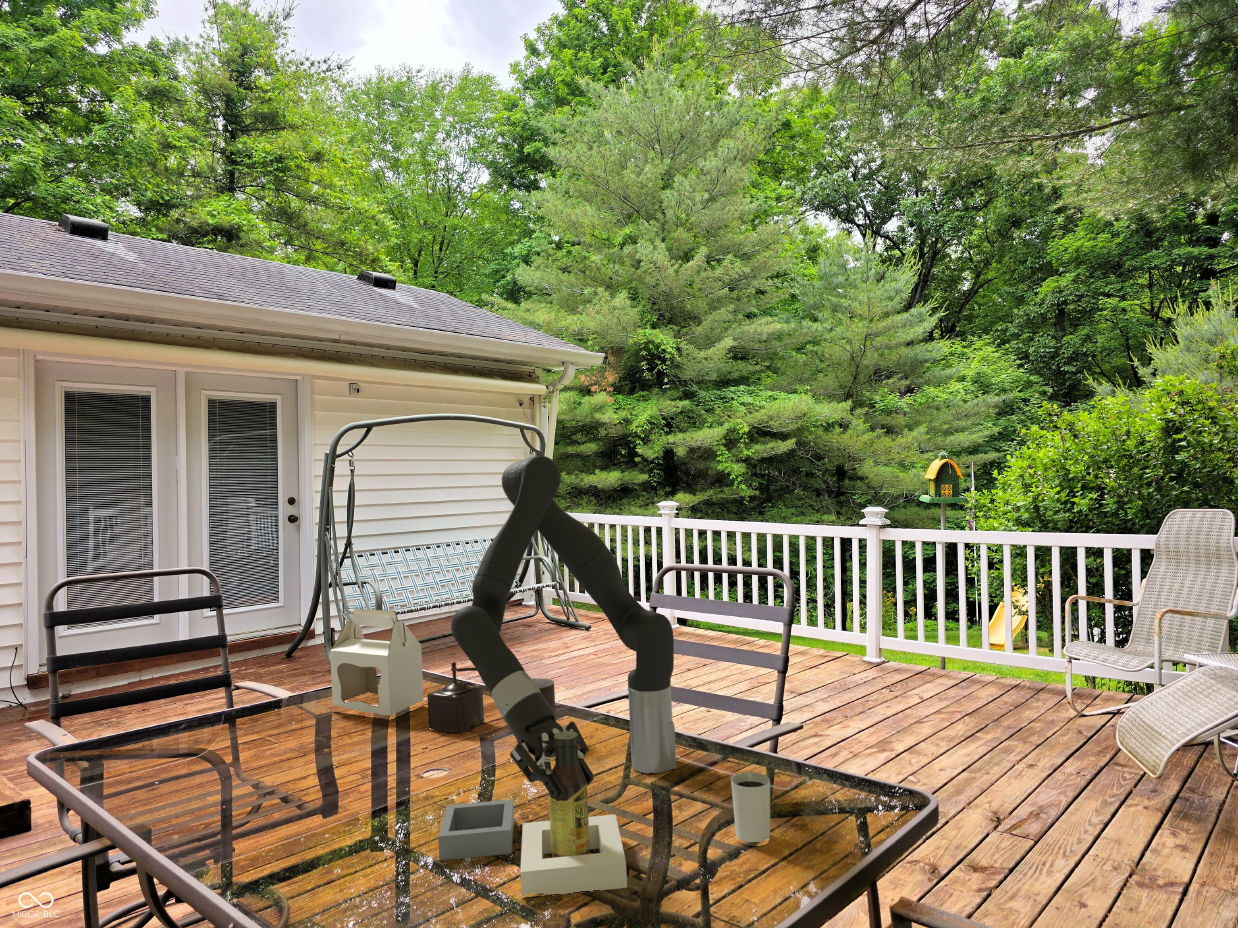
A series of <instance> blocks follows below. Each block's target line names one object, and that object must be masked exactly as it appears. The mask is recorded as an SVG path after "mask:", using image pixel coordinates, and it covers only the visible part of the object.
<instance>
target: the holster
mask: <svg viewBox="0 0 1238 928" xmlns="http://www.w3.org/2000/svg"><path fill="white" fill-rule="evenodd" d="M514 810H515V807H514V799H503V800H492V801H491V800H490V801H480V802H467V803H460V804H459V803H458V804H447V805H446V808H445V812H444V815H443V819H442V822H441V825H440V829H439V833H438V837H437V838H438V859H439V861H441V862H442V861H449V860H459V859H470V858H471V859H472V858H479V857H480V858H481V857H490V856H501V855H510V854H513V840H514V827H515V812H514Z"/></svg>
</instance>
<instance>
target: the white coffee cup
mask: <svg viewBox="0 0 1238 928" xmlns="http://www.w3.org/2000/svg"><path fill="white" fill-rule="evenodd" d="M730 783H731V784H730V785H731V793H732V795H731V796H732V805H733V808H732V809H733V815H734V816H733V817H734V827H735V830H734V831H735V837H736V836H737V838H738V839H740V840H743V841H746V842H760V841H763V840H766V839H768V838H769V836H770V837H771V780H770V777H769V776H767V775H766V774H763V773H762V772H761V773H760V772H757V771H756V772H755V771H754V772H753V771H744V772H738V773H736V774H734V775H732V776H731V777H730Z"/></svg>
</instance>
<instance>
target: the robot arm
mask: <svg viewBox="0 0 1238 928" xmlns="http://www.w3.org/2000/svg"><path fill="white" fill-rule="evenodd" d="M561 478H562V477H561V472H560V469H559V467H558V464H557V463H556V461H554V460H553V459H552V458H550V457H548V456H545V455H534V456H532V457H531V456H530V457H527V458H525V459H523V460H520V461H516V462H514V463H512V464H510V465H508V466H507V467H506V468H505V469H504V470H503V472H502V476H501V486H502V489H503V493H504V494H505V496H506V498H507V499H508V500H509V502H510V503H511V504H512V506H514V507H513V509H512V511H511V513H510V515H508V517H507V520H506V521H505V522H504V524H503V525H502V527H501V528H500V530H499V531H498V533H497V534H496V536H495V537H494V538H493V539H492V541H491V542H490V543H489V545H488V547H487V549H486V550H485V552H484V555H483V557H482V560H481V561H480V564H479V567H478V569H477V572H476V574H475V577H474V578H473V582H472V586H471V591H472V596H473V598H472V603H471V605H466V606H462V607H461V608H459V609H458V610H457V611H456V612H455V613H454V615H453V616H452V620H451V622H450V623H451V624H450V625H451V633H452V635H453V638H454V640H455V642H456V643H457V645H458V646H459V647H460V649H461V650H462V651H463V653H464V654H465V655H466V657H467V658H468V659H469V661H470V662H471V663H472V665H473V667H474V668H476V669H477V673H478V675H479V677H480V679H481V680H482V683H483V684H484V686H485V687H486V689H487V691H488V693H489V694H490V696H491V697H492V699H493V702H494V704H495V707H496V709H497V710H498V711H499V714H500V715H501V716H502V718H503V719H504V721H505V723H506V724H507V726H508V728H509V729H510V731H511V733H512V734H513V736H514V738H515V739H517V740H519V741H521V744H520V743H518V742H517V744H516V745H515V747H514V748H513V749H512V750H511V751H510V753H509V756H510V758H511V759H512V760H513V762H514V763H515V765H516V766H517V768H519V770H520V771H521V772H522V774H523V775H524V776H525V778H526V779H527V781H528V782H529V783H531V784H533V783H535V782H540V783H542V784H543V785H544V786H545V787H544V788H545V789H546V790H547V791H548V794H549V793H550V795H551V797H552V798H554V799H555V800H556V801H559V800H561V799H562V798H563V797H564V796H565V795H566V791H565V790H564V788H563V786H562V785H561V783H560V782H559V780H558V778H557V777H556V775H555V774H554V773H553V774H551V773H552V769H553V768H552V765H551V760H552V758H555V745H554V738H553V737H554V735H555V734H556V733H559V732H563V731H573V732H576V733H577V734H578V741H579V742H578V757H579V763H580V766H581V768H582V771H583V773H584V776H585V778H586V781H587V787H588V786H589V785H591V784H592V782H593V781H594V778H595V777H594V773H593V771H592V770H591V769H590V767H589V765H588V764H587V762H586V760H585V759H584V758H585V756H586V754H587V753H588V752H589V750H590V749H589V747H588V745H587V743H586V741H585V740H584V738H583V735H582V734H581V732H580V730H579V728H578V726H577V724H576V723H575V721H573V720H571V721H569V723H568V724H566V725H561V724H559V723H558V722H557V720H556V721H555V718H554V711H553V710H552V708H551V707H550V705H549V704H548V702H547V701H546V699H545V698H544V696H543V695H542V693H541V692H540V690H539V689H538V687H537V685H536V684H535V682H534V681H533V680H532V679H533V677H531V676H530V675H529V674H528V673H527V671H526V670H525V668H524V667H523V665H522V663H521V662H520V660H519V659H518V658H517V656H516V654H514V652H513V651H512V650H511V649H510V648H509V647H508V646H507V644H506V643H505V641H504V640H503V638H502V636H501V635H500V632H501V630H502V625H503V621H504V617H505V611H506V606H507V605H506V604H507V600H508V597H509V594H510V593H511V590H512V587H513V584H514V582H515V579H516V576H517V573H518V572H519V568H520V566H521V563H522V561H523V559H524V556H525V553H526V551H527V549H528V547H529V545H530V544H531V541H532V539H533V537H534V535H535V533H536V532H537V531H538V532H539V534H540V535H541V536H542V537H543V539H544V540H545V541H546V542H547V544H548V545H549V546H550V548H551V549H552V550H553V551H554V553H556V555H557V556H558V558H559V559H560V560H561V561H562V563H563V564H564V566H565V567H566V569H567V570H568V571H569V572H570V573H571V575H572V576H573V577H574V579H575V580H576V581H577V582H578V584H579V585H581V587H582V588H583V589H584V591H585V592H586V593H587V594H588V595H589V597H590V598H591V599H592V600H593V601H594V602H595V603H596V605H598V607H599V608H600V609H601V611H602V612H603V614H604V615H605V616H606V618H607V619H608V620H607V621H609V622H610V624H611V625H612V629H614V631H615V633H616V634H617V636H618V638H619V640H620V641H621V642H622V644H623V645H624V646H625V647H626V648H628V649H629V650H631V651H633V652H635V656H636V658H635V669H632V670H630V672H628V674H627V692H628V693H627V694H628V711H629V712H628V714H629V716H628V717H629V734H630V739H629V740H630V759H631V768H632V769H633V770H634V769H635V770H634V771H635V772H638V771H639V772H638V773H641V772H643V774H649V773H655V774H661V773H666V772H668V771H670V770H677V754H676V753H677V751H676V749H677V748H676V747H677V746H676V731H675V729H676V727H675V723H674V720H673V704H672V703H673V702H672V701H673V700H672V684H671V683H672V682H671V681H672V680H671V679H672V675H673V672H674V667H675V665H674V663H675V661H674V660H675V655H674V654H675V652H674V651H675V649H674V647H675V646H674V645H675V640H674V639H675V638H674V629H673V626H672V623H671V621H670V620H669V618H668V617H667V616H665V615H663V614H661V613H659V612H655V611H652V610H649V609H646V608H645V607H644V606H643V605H641V604H640V603H639V602H638V600H636V598H635V597H634V596H633V595H632V594H631V593H630V591H629V590H628V588H627V586H626V585H625V583H624V581H623V577H622V573H621V570H620V567H619V564H618V561H617V560H616V558H615V556H614V555H613V553H612V552H611V550H610V549H609V548H608V546H607V545H606V544H605V542H604V541H603V540H602V539H601V537H600V536H599V535H598V534H597V533H596V532H595V531H594V530H593V529H591V528H590V527H588V526H587V525H585V524H584V523H582V522H581V521H579V520H577V519H576V518H574V517H573V516H572V515H570V514H568V513H567V512H566V511H565V510H563V509H562V508H561V507H560V506H559V505H558V503H557V502H556V500H555V499H554V498H555V497H556V495H557V493H558V491H559V489H560V486H561V481H562V479H561ZM517 740H516V741H517ZM531 755H532V756H531Z"/></svg>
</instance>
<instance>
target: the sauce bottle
mask: <svg viewBox="0 0 1238 928" xmlns="http://www.w3.org/2000/svg"><path fill="white" fill-rule="evenodd" d="M553 738H554V745H555V757H554V761H555V764H554V766H553V768H551V769H552V773H551V774H553V773H554V774H555V775H556V777H557V778H558V780H559V782H560V783H561V785H562V786H563V788H564V790H565V791H566V795H565V796H564V797H563V798H562V799H561V800H559V801H556V800H555V799H554V798H552V797H551V795H550V793H549V792H548V799H549V800H548V801H549V802H548V803H549V805H548V806H549V821H550V834H551V850H552V853H551V856H552V857H551V858H556V857H566V856H576V855H586V854H590V850H589V846H590V845H589V821H588V817H589V801H588V786H587V781H586V778H585V776H584V773H583V771H582V768H581V766H580V763H579V757H578V747H579V745H578V742H579V741H578V734H577V733H576V732H573V731H563V732H559V733H556V734H555V735H554V737H553Z"/></svg>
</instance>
